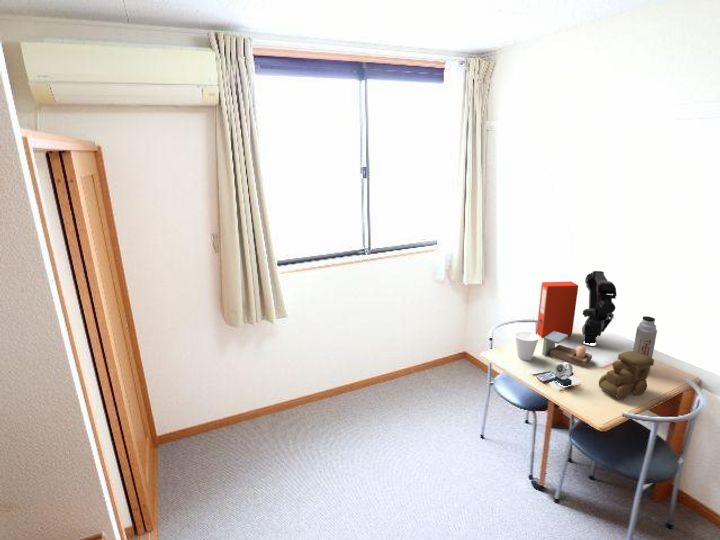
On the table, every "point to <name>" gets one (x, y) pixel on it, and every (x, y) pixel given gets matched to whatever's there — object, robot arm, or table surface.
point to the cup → (526, 344)
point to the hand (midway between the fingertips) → (598, 334)
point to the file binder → (557, 308)
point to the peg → (581, 352)
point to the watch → (561, 370)
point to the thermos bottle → (645, 337)
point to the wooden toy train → (627, 375)
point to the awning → (552, 341)
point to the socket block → (570, 356)
